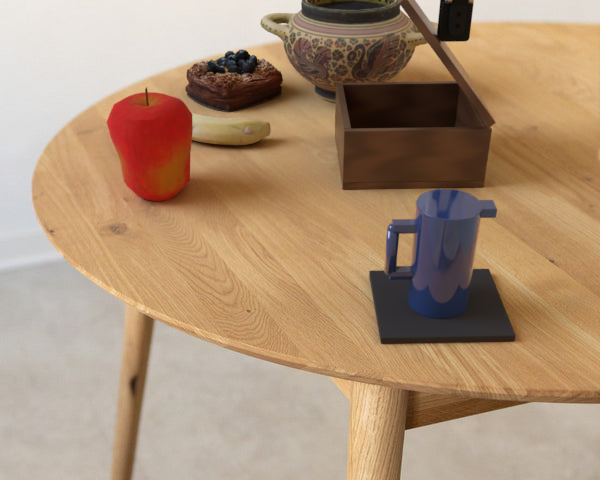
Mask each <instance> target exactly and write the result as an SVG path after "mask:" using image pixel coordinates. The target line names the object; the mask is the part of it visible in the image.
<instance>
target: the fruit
mask: <svg viewBox="0 0 600 480" xmlns="http://www.w3.org/2000/svg"><path fill="white" fill-rule="evenodd" d="M190 112H191V113H192V124H193V132H192V141H194V142H199V143H204V144H214V145H224V146H247V145H252V144H255V143H258V142H259V141H261V140H263V139H266V138H267V137H269V136H270V134H271V123H270V122H269V121H265V120H260V119H257V118H249V117H248V118H247V117H217V116H212V115H211V116H209V115H205V114H199V113H195V112H192V111H190Z"/></svg>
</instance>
